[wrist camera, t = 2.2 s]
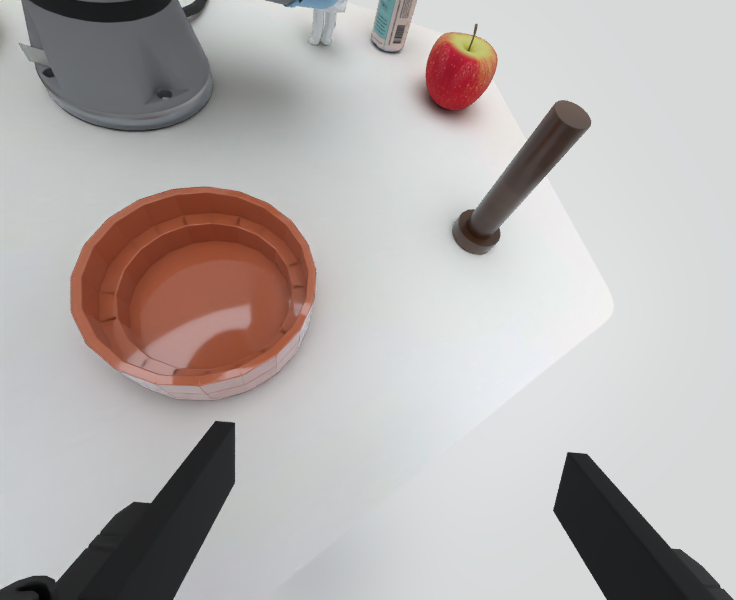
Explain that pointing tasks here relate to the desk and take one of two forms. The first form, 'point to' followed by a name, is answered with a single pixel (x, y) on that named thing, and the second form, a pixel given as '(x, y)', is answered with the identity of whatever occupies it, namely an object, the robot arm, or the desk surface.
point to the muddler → (521, 176)
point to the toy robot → (329, 23)
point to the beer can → (392, 23)
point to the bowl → (195, 292)
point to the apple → (459, 69)
